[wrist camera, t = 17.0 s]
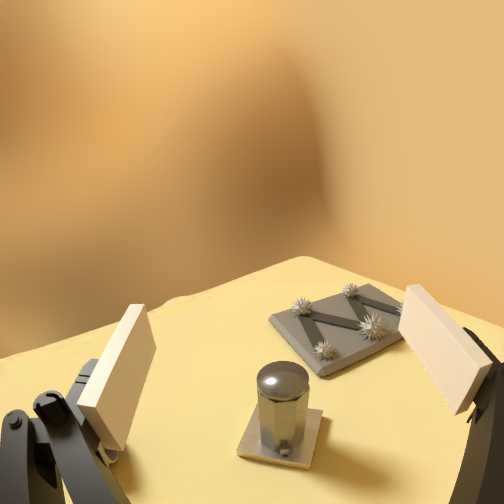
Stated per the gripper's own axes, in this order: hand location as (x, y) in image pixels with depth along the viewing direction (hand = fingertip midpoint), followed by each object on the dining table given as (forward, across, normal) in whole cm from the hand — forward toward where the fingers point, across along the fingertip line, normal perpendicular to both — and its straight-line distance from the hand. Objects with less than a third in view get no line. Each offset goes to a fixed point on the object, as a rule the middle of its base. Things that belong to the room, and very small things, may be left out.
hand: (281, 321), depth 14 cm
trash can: (+12, +2, -28) cm, 31 cm away
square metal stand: (+13, +2, -30) cm, 33 cm away
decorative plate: (+39, +19, -31) cm, 54 cm away
